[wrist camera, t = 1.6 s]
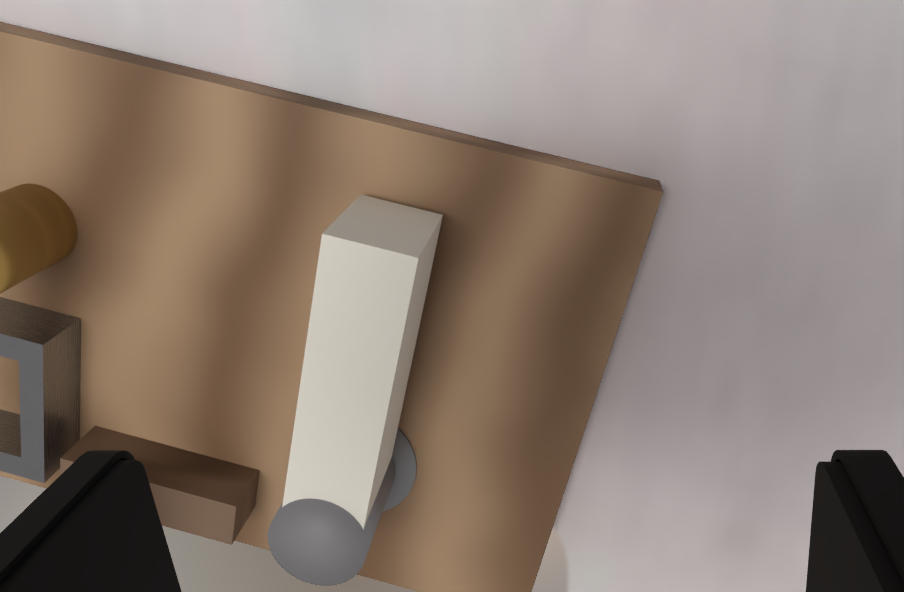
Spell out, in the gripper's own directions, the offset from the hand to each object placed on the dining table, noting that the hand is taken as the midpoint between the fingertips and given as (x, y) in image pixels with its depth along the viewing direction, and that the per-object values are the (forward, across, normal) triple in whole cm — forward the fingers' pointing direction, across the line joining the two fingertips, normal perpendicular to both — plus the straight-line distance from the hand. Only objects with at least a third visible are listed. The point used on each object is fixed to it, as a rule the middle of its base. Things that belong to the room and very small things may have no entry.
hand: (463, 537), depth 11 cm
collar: (+18, +23, +6) cm, 30 cm away
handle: (+17, +7, +6) cm, 20 cm away
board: (+19, +12, +6) cm, 23 cm away
